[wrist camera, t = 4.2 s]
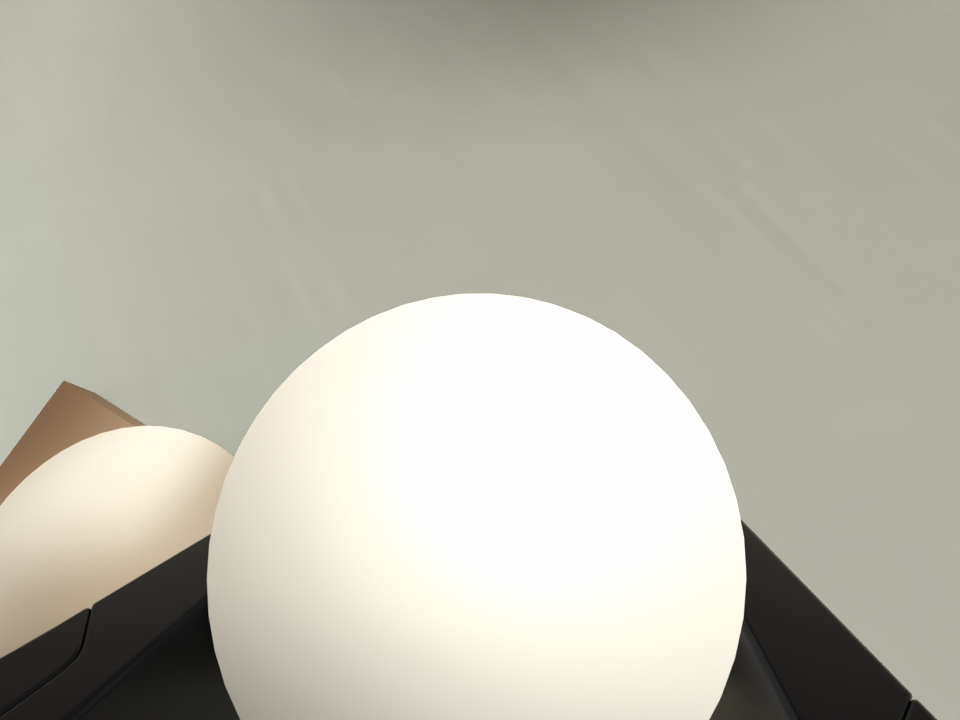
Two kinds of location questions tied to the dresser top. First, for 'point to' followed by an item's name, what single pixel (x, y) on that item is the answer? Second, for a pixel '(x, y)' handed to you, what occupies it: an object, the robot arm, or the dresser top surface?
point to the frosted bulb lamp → (477, 529)
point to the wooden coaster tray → (95, 508)
